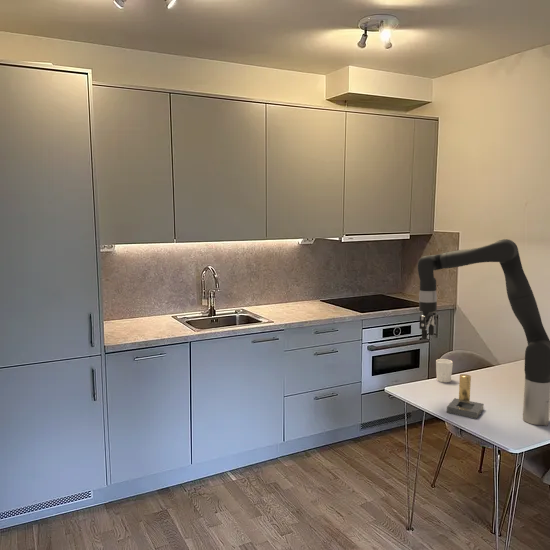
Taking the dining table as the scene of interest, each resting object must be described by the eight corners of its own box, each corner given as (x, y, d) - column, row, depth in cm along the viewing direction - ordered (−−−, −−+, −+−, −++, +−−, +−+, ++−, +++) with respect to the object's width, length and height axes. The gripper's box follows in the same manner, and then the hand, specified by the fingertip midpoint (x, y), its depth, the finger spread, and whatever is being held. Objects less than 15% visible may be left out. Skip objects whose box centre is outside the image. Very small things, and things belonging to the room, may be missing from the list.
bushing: (470, 401, 222) (471, 375, 221) (468, 404, 219) (469, 378, 217) (460, 399, 225) (461, 373, 224) (457, 402, 221) (458, 376, 220)
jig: (483, 409, 213) (483, 403, 213) (476, 418, 203) (476, 413, 203) (454, 403, 220) (454, 398, 219) (446, 412, 210) (446, 406, 210)
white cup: (432, 379, 253) (432, 359, 252) (444, 377, 256) (445, 358, 255) (442, 383, 246) (443, 364, 245) (455, 381, 249) (456, 362, 247)
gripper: (430, 303, 214) (430, 340, 215) (441, 299, 225) (441, 334, 226) (413, 301, 218) (413, 338, 219) (425, 298, 229) (425, 333, 231)
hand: (427, 336), depth 223 cm, fingers open, 8 cm apart
